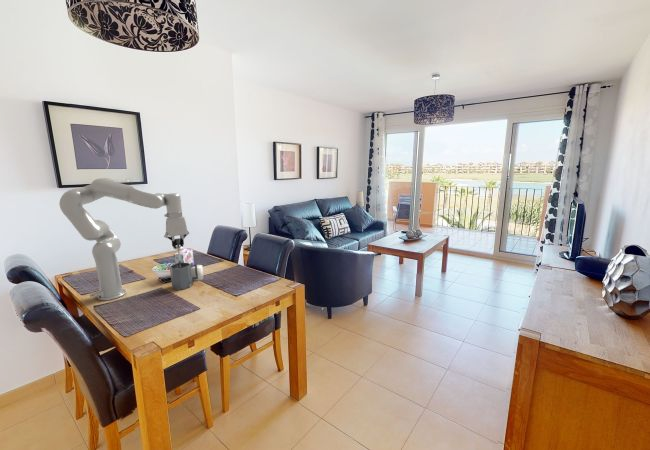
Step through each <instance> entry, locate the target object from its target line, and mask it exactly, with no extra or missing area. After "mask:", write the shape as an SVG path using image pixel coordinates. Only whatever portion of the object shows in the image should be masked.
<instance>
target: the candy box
mask: <svg viewBox="0 0 650 450" xmlns="http://www.w3.org/2000/svg"><path fill="white" fill-rule="evenodd" d="M180 258H181V263H189V264H191V265H194V264H195V261H194V259H195V258H194V251H193V248H185V247H183V248H182V249H180ZM173 259H174V264H178V263H179V258H178V251H177V252H176V253H173Z"/></svg>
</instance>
